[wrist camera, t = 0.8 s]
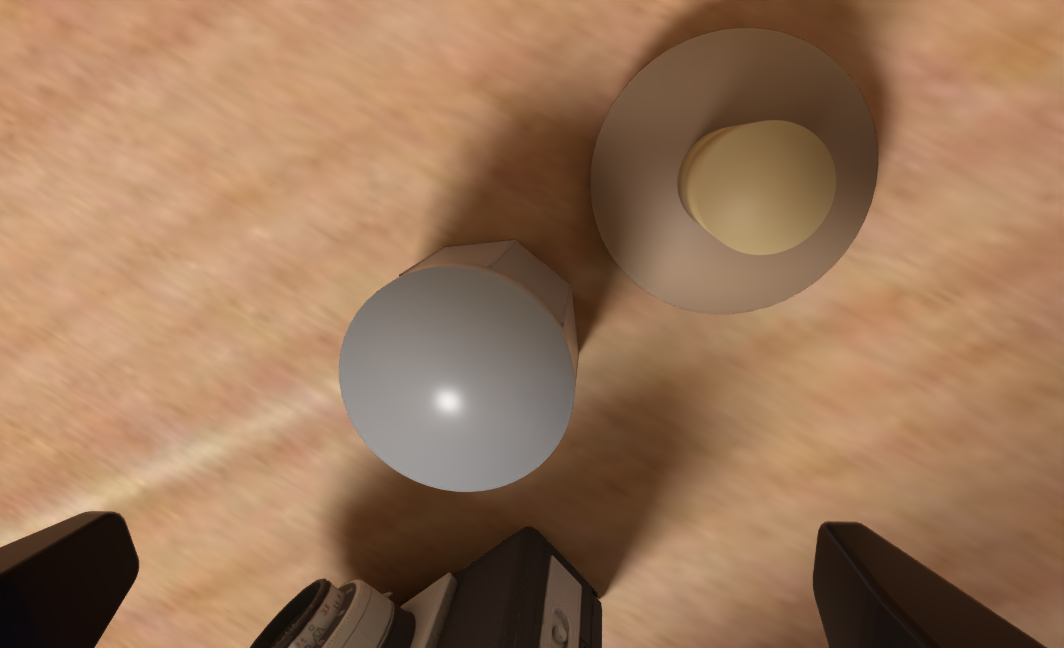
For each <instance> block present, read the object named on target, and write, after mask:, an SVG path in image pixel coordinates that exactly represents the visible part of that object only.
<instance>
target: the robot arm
mask: <svg viewBox="0 0 1064 648" xmlns="http://www.w3.org/2000/svg"><path fill="white" fill-rule="evenodd" d="M138 571H139V558H138V555H137V552H136V550H135V547H134V544H133V541H132V538H131V535H130V533H129V530H128V527H127V524H126V521H125V519H124V518H123V517H122V516H121V515H120V514H119V513H116V512H112V511H89V512H84V513H81V514H79V515H76V516H74V517H71V518H69V519H67V520H64V521H62V522H60V523H57V524H55V525H52V526H50V527H48V528H45V529H43V530H41V531H38V532H36V533H33V534H31V535H29V536H26V537H24V538H22V539H19V540H17V541H14V542H12V543H10V544H7V545H5V546H3V547H0V648H95V646H96V644H97V643H98V641H99V639H100V638H101V636H102V634H103V633H104V631H105V629H106V628H107V626H108V625H109V623H110V621H111V620H112V618H113V616H114V615H115V613H116V611H117V610H118V608H119V606H120V605H121V603H122V601H123V600H124V598H125V596H126V595H127V593H128V592H129V590H130V588H131V587H132V585H133V583H134V581H135V580H136V577H137V575H138ZM813 591H814V596H815V600H816V604H817V607H818V611H819V614H820V617H821V621H822V624H823V628H824V631H825V634H826V638H827V641H828V645H829V648H1047V647H1045V646H1044V645H1042V644H1041V643H1039V642H1038V641H1036V640H1035V639H1033V638H1032V637H1030V636H1029V635H1027V634H1026V633H1024V632H1023V631H1021V630H1020V629H1018V628H1017V627H1015V626H1014V625H1012V624H1011V623H1009V622H1008V621H1006V620H1005V619H1004V618H1002V617H1001V616H999V615H998V614H996V613H995V612H993V611H992V610H990V609H989V608H987V607H986V606H984V605H983V604H981V603H980V602H978V601H977V600H975V599H974V598H972V597H971V596H969V595H968V594H966V593H965V592H963V591H962V590H960V589H959V588H957V587H956V586H954V585H953V584H951V583H950V582H948V581H947V580H945V579H944V578H942V577H941V576H939V575H938V574H936V573H935V572H933V571H932V570H930V569H929V568H927V567H926V566H924V565H923V564H921V563H920V562H918V561H917V560H915V559H914V558H912V557H911V556H909V555H908V554H906V553H905V552H904V551H902V550H901V549H899V548H898V547H896V546H895V545H893V544H892V543H890V542H889V541H887V540H886V539H884V538H883V537H881V536H880V535H878V534H877V533H875V532H874V531H872V530H871V529H869V528H868V527H866V526H865V525H863V524H861V523H858V522H837V521H827V522H824V523H823V524H822V525H821V526H820V528H819V531H818V536H817V545H816V553H815V562H814V570H813Z"/></svg>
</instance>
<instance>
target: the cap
mask: <svg viewBox="0 0 1064 648" xmlns="http://www.w3.org/2000/svg"><path fill="white" fill-rule="evenodd" d="M578 359H579V352H578V343H577V333H576V324H575V314H574V304H573V294H572V285H571V284H569V283H568V282H567V281H565V280H564V279H563V278H562V277H561V276H559V275H558V274H557V273H556V272H554V271H553V270H552V269H551V268H549V267H548V266H547V265H546V264H544V263H543V262H542V261H541V260H539V259H538V258H537V257H536V256H534V255H533V254H532V253H531V252H529V251H528V250H527V249H526V248H525V247H523V246H522V245H521V244H520V243H518V242H517V241H516V240H515V239H514V240H508V241H498V242H489V243H479V244H469V245H460V246H450V247H446V246H445V247H443V248H441V249H440V250H438V251H437V252H435V253H433V254H432V255H430V256H428V257H427V258H425V259H424V260H422V261H420V262H419V263H417V264H416V265H414V266H412V267H411V268H409V269H408V270H406V271H404V272H403V273H401V274H399V277H398V278H397V279H395V280H394V281H392V282H390V283H389V284H387V285H386V286H384V287H383V288H381V289H380V290H378V291H377V292H376V293H375V294H374V295H373V296H372V297H370V298H369V299H368V300H367V301H366V302H365V303H364V305H363V306H362V307H361V308H360V309H359V311H358V312H357V314H356V315H355V317H354V318H353V320H352V322H351V323H350V325H349V328H348V330H347V332H346V335H345V337H344V341H343V344H342V348H341V353H340V361H339V382H340V388H341V394H342V398H343V401H344V405H345V408H346V410H347V413H348V415H349V417H350V420H351V422H352V424H353V425H354V427H355V429H356V430H357V432H358V434H359V435H360V437H361V438H362V439H363V441H364V442H365V443H366V445H367V446H368V447H369V448H370V449H371V450H372V451H373V452H374V453H375V454H376V455H377V456H378V457H379V458H380V459H381V460H382V461H384V462H385V463H386V464H387V465H388V466H390V467H391V468H393V469H394V470H396V471H397V472H399V473H400V474H402V475H404V476H406V477H408V478H410V479H412V480H414V481H416V482H419V483H422V484H424V485H427V486H430V487H434V488H438V489H442V490H449V491H456V492H475V491H485V490H490V489H494V488H499V487H502V486H505V485H507V484H510V483H513V482H515V481H517V480H519V479H521V478H523V477H525V476H526V475H528V474H529V473H531V472H532V471H533V470H535V469H536V468H538V467H539V466H540V465H541V464H542V463H543V462H544V461H545V460H546V459H547V458H548V457H549V456H550V455H551V453H552V452H553V451H554V450H555V448H556V447H557V446H558V444H559V442H560V441H561V439H562V437H563V436H564V433H565V431H566V429H567V426H568V424H569V421H570V417H571V413H572V409H573V403H574V394H575V385H576V376H577V367H578Z"/></svg>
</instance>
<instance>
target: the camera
mask: <svg viewBox="0 0 1064 648" xmlns="http://www.w3.org/2000/svg"><path fill="white" fill-rule="evenodd" d="M392 594H393V593H392V592H388V593H384V594H381V593H380V592H378V591H377V590H375V589H374V588H373V587H371V586H370V585H368V584H367V583H366V582H364V581H363V580H352V581H349V582H347V583H346V584H344V585H342V586H340V587H339V588H338V589H337V588H336V587H335V586H334V585H333V584H332V583H331V582H330V581H327V580H326V579H320V580H316V581H315V582H313V583H312V584H310V585H309V586H307V587H306V588H305V589H303V590H302V591H301V592H300V593H299V594H298V595H297V596H296V597H295V598H293V599H292V600H291V601H290V602H289V603H288V604H287V605H286V606H285V607H284V608H283V609H282V610H281V611H280V612H279V613H278V614H277V615H276V616H275V618H274V619H273V620H272V621H271V622H270V623H269V624H268V625H267V627H266V628H265V629H264V630H263V631H262V633H261V634H260V635H259V636H258V637H257V639H256V640H255V641H254V642H253V644H252V645H251V647H250V648H602V606H601V602H600V601H599V600H598V599H597V598H596V597H597V592H596V591H595V590H594V589H593V588H592V587H591V586H590V584H589V583H588V582H587V581H586V580H585V579H584V578H583V577H582V576H581V575H580V574H579V573H578V572H577V571H576V570H575V568H574V567H573V566H572V565H571V564H570V563H569V562H568V561H567V560H566V559H565V558H564V557H563V556H562V555H561V554H560V553H559V552H558V551H557V550H556V549H555V548H554V547H553V546H552V545H551V544H550V543H549V542H548V541H547V540H546V539H545V538H544V537H543V536H542V535H541V534H540V533H539V532H538V531H537V530H536V529H534V528H532V527H525V528H523V529H522V530H520V531H518V532H516V533H515V534H513V535H512V536H510V537H509V538H508V539H506V540H505V541H503V542H502V543H501V544H499V545H498V546H496V547H495V548H493V549H492V550H491V551H489V552H488V553H486V554H485V555H484V556H482V557H481V558H479V559H478V560H476V561H475V562H474V563H472V564H471V565H469V566H468V567H467V568H465V569H464V570H462V571H461V572H459V573H458V574H457V575H455V576H454V577H453V576H452V575H451V574H450V573H447V574H446V575H444V576H443V577H442V578H440V579H439V580H437V581H436V582H434V583H433V584H432V585H430V586H429V587H427V588H426V589H425V590H423V591H422V592H420V593H419V594H418V595H416V596H415V597H413V598H412V599H410V600H409V601H408V602H406V603H405V604H403V605H402V606H401V607H399V606H398V605H396V604H395V603H394V602H392V601H391V600H389V598H390V596H391V595H392Z"/></svg>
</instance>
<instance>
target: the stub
mask: <svg viewBox="0 0 1064 648" xmlns="http://www.w3.org/2000/svg"><path fill="white" fill-rule="evenodd" d="M877 171H878V144H877V138H876V132H875V126H874V123H873V120H872V117H871V113H870V110H869V107H868V105H867V103H866V101H865V99H864V97H863V95H862V93H861V91H860V89H859V88H858V87H857V85H856V84H855V82H854V81H853V79H852V78H851V77H850V75H849V74H848V73H847V72H846V71H845V70H844V69H843V68H842V67H841V66H840V65H839V64H838V62H837V61H836V60H834V59H833V58H832V57H830V56H829V55H828V54H826V53H825V52H824V51H823V50H821V49H820V48H818V47H816V46H814V45H812V44H811V43H809V42H807V41H805V40H803V39H801V38H798V37H795V36H792V35H790V34H787V33H784V32H779V31H774V30H769V29H762V28H733V29H724V30H719V31H714V32H710V33H705V34H703V35H700V36H697V37H694V38H691V39H689V40H686V41H684V42H682V43H680V44H678V45H676V46H674V47H672V48H671V49H669V50H667V51H666V52H664V53H663V54H661V55H660V56H658V57H657V58H655V59H654V60H652V61H651V62H650V63H649V64H648V65H647V66H645V67H644V68H643V69H642V70H641V71H640V72H639V73H638V74H636V76H635V77H634V78H633V79H632V80H631V81H630V82H629V84H628V85H627V86H626V87H625V88H624V89H623V91H622V92H621V93H620V95H619V96H618V98H617V99H616V101H615V102H614V104H613V105H612V107H611V109H610V111H609V113H608V115H607V117H606V118H605V120H604V122H603V125H602V127H601V130H600V133H599V135H598V138H597V141H596V145H595V149H594V153H593V158H592V165H591V175H590V192H591V202H592V208H593V214H594V218H595V221H596V224H597V228H598V231H599V233H600V235H601V238H602V240H603V242H604V244H605V247H606V248H607V250H608V251H609V253H610V255H611V256H612V258H613V260H614V261H615V262H616V263H617V265H618V266H619V267H620V268H621V270H622V271H623V272H624V273H625V274H626V275H627V276H628V277H629V278H630V279H631V280H632V281H633V282H634V283H635V284H636V285H638V286H639V287H640V288H642V289H643V290H645V291H646V292H647V293H649V294H650V295H652V296H654V297H656V298H658V299H660V300H661V301H663V302H665V303H668V304H670V305H673V306H676V307H678V308H681V309H685V310H689V311H694V312H698V313H707V314H737V313H744V312H751V311H755V310H758V309H762V308H766V307H769V306H772V305H774V304H777V303H779V302H782V301H784V300H787V299H788V298H790V297H792V296H794V295H796V294H798V293H800V292H801V291H803V290H804V289H806V288H807V287H809V286H810V285H812V284H813V283H814V282H816V281H817V280H818V279H820V278H821V277H822V276H823V275H824V274H825V273H826V272H827V271H829V270H830V269H831V268H832V267H833V266H834V265H835V263H836V262H837V261H838V260H839V259H840V258H841V257H842V256H843V254H844V253H845V252H846V251H847V249H848V248H849V246H850V245H851V243H852V242H853V240H854V239H855V238H856V236H857V234H858V232H859V230H860V228H861V226H862V224H863V223H864V221H865V218H866V216H867V213H868V210H869V208H870V205H871V202H872V199H873V194H874V190H875V186H876V180H877Z"/></svg>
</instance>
